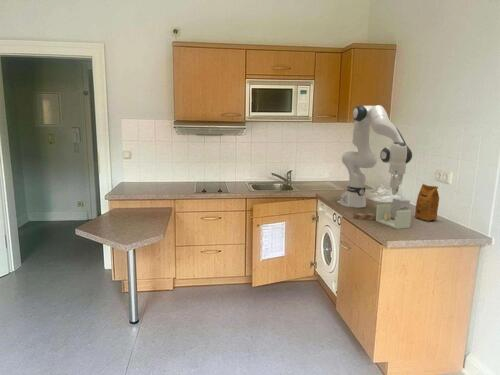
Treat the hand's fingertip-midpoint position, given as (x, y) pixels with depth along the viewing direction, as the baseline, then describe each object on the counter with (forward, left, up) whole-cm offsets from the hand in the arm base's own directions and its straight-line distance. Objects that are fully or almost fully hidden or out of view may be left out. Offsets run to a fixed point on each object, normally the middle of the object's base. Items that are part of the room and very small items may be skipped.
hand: (395, 193), depth 211 cm
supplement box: (-9, +14, -19) cm, 25 cm away
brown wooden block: (-14, -8, -19) cm, 25 cm away
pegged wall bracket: (0, 0, -19) cm, 19 cm away
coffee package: (-4, +30, -19) cm, 36 cm away
